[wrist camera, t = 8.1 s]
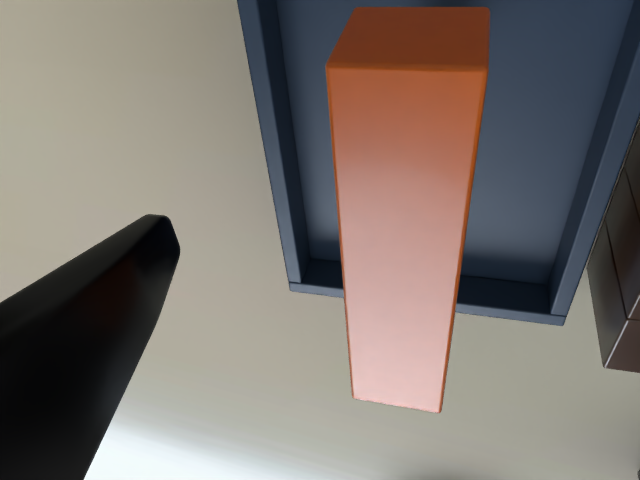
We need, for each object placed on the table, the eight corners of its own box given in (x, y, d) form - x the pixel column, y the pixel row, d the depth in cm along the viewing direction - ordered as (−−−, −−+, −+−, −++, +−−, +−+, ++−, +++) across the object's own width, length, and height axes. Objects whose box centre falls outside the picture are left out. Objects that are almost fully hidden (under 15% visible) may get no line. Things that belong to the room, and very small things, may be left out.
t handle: (461, 173, 18) (441, 414, 12) (401, 169, 18) (351, 399, 12) (493, -104, 12) (489, 68, 6) (408, -100, 13) (323, 63, 7)
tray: (559, 287, 21) (563, 327, 20) (302, 258, 23) (289, 291, 22) (833, -544, 8) (903, -601, 7) (199, -418, 11) (155, -440, 9)
